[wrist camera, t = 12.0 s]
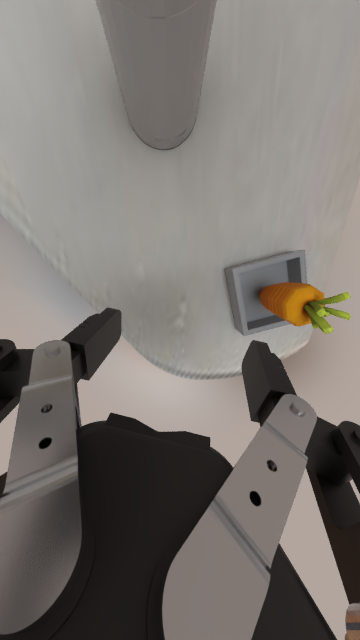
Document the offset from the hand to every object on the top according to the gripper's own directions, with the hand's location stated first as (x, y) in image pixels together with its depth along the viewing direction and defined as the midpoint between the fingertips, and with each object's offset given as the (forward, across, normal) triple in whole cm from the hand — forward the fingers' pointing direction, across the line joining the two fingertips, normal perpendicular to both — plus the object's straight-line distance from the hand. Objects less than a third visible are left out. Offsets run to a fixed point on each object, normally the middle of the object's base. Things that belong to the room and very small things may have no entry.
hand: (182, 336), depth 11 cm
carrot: (+22, -11, +3) cm, 25 cm away
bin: (+23, -11, +3) cm, 25 cm away
